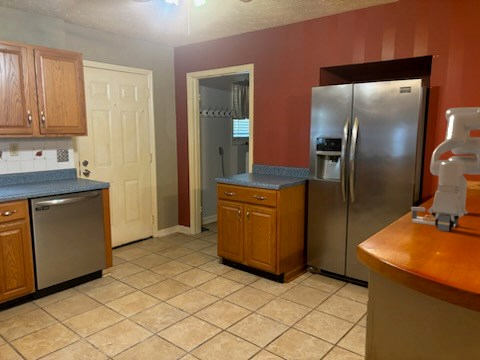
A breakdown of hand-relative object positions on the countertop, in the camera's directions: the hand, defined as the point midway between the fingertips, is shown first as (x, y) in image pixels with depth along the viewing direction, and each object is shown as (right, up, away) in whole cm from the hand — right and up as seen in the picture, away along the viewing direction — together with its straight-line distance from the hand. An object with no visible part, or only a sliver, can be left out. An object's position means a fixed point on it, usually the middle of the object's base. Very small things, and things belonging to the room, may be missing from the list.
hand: (444, 227), depth 163 cm
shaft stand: (+2, +1, +12) cm, 12 cm away
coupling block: (0, -1, 0) cm, 1 cm away
